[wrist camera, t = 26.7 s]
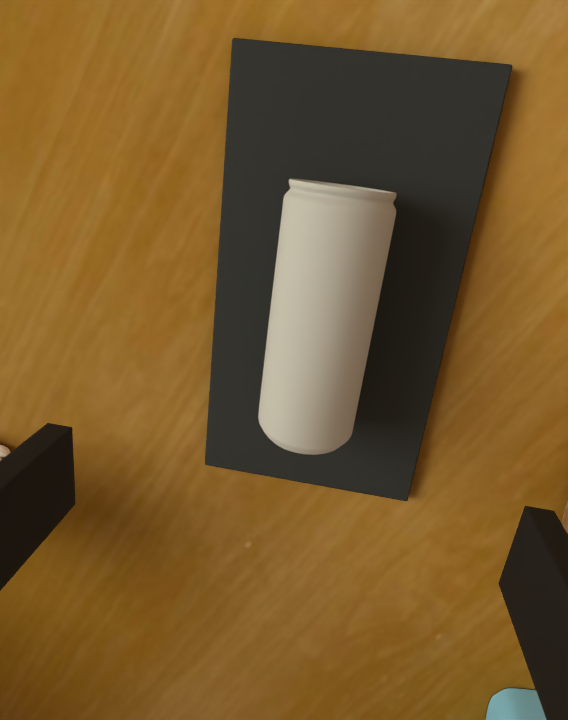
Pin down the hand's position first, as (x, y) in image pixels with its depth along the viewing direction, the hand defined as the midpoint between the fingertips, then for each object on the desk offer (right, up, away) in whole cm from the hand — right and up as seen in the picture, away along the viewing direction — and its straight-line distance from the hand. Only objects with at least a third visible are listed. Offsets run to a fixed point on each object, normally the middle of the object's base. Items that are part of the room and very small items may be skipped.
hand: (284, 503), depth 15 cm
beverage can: (+1, 0, +11) cm, 11 cm away
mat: (+2, +7, +11) cm, 14 cm away
